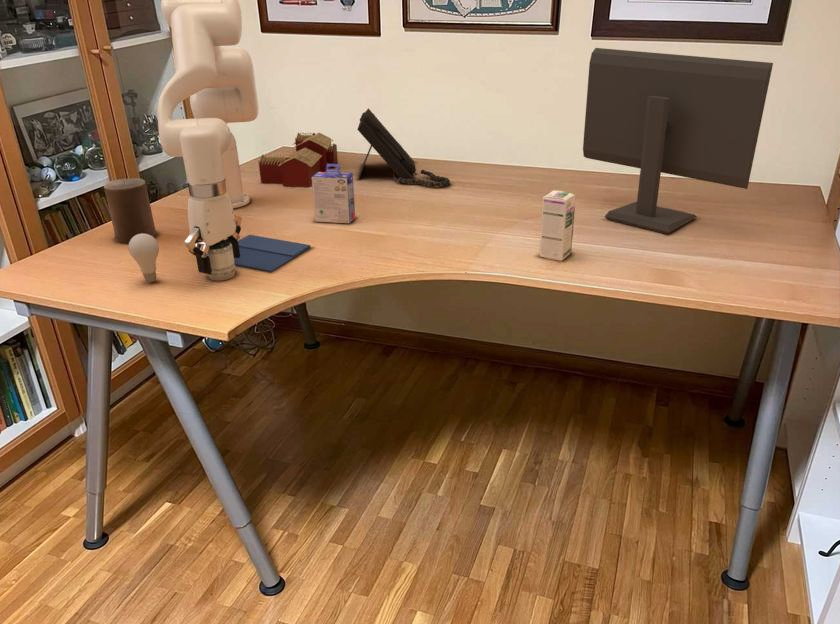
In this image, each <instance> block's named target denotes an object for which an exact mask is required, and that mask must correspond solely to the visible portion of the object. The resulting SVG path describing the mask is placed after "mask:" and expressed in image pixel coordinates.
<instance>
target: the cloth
mask: <svg viewBox="0 0 840 624" xmlns="http://www.w3.org/2000/svg"><path fill="white" fill-rule="evenodd" d="M237 241H238V243H239V250H240V258H234V263H235V267H241V268H245V269H246V268H247V269H252V270H258V271H262V272H268V273H273V272H274V271H276V270H277V269H280V268H282V267H283V266H285V265H286V264H287V263H289V262H290V261H292V260H294V259H295V258H297V257H299V256H300V255H302V254H303V253H305V252H306V251H309V250H310V249H311V244H308V243H307V244H305V243H300V242H295V241H289V240H285V239H284V240H283V239H279V238H272V237H265V236H260V235H254V234H247V235H246V236H244V237H242V238H240V239H239V240H237Z"/></svg>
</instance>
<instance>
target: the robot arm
mask: <svg viewBox="0 0 840 624" xmlns="http://www.w3.org/2000/svg"><path fill="white" fill-rule="evenodd" d="M160 10H161V14H162V16H163V19H164V21H165V23H166V24H167V25H168V26H169V27H170V30H171V39H172V40H171V41H172V49H173V50H172V51H173V58H174V59H173V60H174V71H175V73H174V74H173V76H172V77H171V78H170V79H169V80H168V82H167V83H166V84H165V86H164V87H163V89H162V91H161V93H160V95H159V98H158V101H157V107H156V113H157V115H156V116H157V127H158V138H159V141H160V142H159V143H160V146H161V149H162V151H163V152H164V153H165V154H166V155H168V156H169V157H172V158H182V159H183V165H184V170H185V171H184V172H185V176H186V181H187V182H186V183H187V188H188V193H189V197H188V199H187V223H188V224H187V225H188V231H189V235H188V236H187V238H186V239H185V240H184V246H186V248H187V249H188V252H189V253H190V254H192V256H194V257H195V260H196V265H197V271H198V272H199V273H200V274H205V275H208V274H211V273H212V269H211V264H210V258H209V256H207V253H208V250H209V247H210V246H212V245H214V244H216V243H218V242H220V241H222V240H227V241H229V242H230V243H231V244H232V249H233V256H234V258H240V250H239V243H238V240H240V239H241V237H240V233H241V230H242V227H241V226H242V221H243V217H242V216H240V215H237V214H235V212H234V209H237V208H242V207H244V206H247V205H248V204H250V201H251V200H250V196H249V195H248V194H247V193H244V188H243V182H242V174H241V167H240V160H239V152H238V145H237V140H236V137H235V135H234V134H233V132H231V129H230V127H229V125H228V124H233V123H249V122H253V121H255V120H256V119H257V118H258V116H259V98H258V91H257V85H256V78H255V70H254V65H253V61H252V58H251V54H249V51H248V50H247V49H245V48H243V47H240V46H239V47H237V45H238V44H239V43H240V42H241V40H242V39H241V38H242V34H243V28H242V27H243V26H242V25H243V24H242V23H243V22H242V20H243V18H242V17H243V16H242V10H241V5H240V2H239V0H161V1H160ZM227 46H228V47H227ZM229 46H230V47H229ZM231 46H232V47H231ZM188 98H189V106H190V109H191V112H192V116H193V118H181V119H173V115H174V111H175V109H176V108H177V107H178V105H180V103H182V102H183V101H185V100H186V99H188ZM203 246H204V247H203ZM202 247H203V249H201V248H202Z"/></svg>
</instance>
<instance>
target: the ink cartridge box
mask: <svg viewBox="0 0 840 624" xmlns="http://www.w3.org/2000/svg"><path fill="white" fill-rule="evenodd" d="M333 166H334V167H335V168H336V169H330V168H329V167H333ZM340 171H341V164H340V163H338V164H327V167H326V172H317V173H316V174H315V175H314V176H312V185H311V187H312V198H313V199H312V200H313V209H314V211H313V212H314V222H317V223H318V222H319V223H335V224H336V223H338V224H350V223H352V221H354V220H355V219H356V206H355V205H356V204H355V189H354V187H355V186H354V173H353V172H342V171H341V172H340Z"/></svg>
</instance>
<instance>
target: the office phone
mask: <svg viewBox="0 0 840 624" xmlns="http://www.w3.org/2000/svg"><path fill="white" fill-rule="evenodd" d="M357 131H358V133H360V135H361V136H362V137H363V138H364V139H365V140H366V141H367V143H369V145H370V146H369V148H368V151H367V153H366V156H365V158H364V160H363V163H362V166H361V170H360V173H359V177H358V178H360V177H361V175H362V172H363V169H364V167H365V165H366V162H367V160H368V157H369V155H370V153H371V150H372V148H373V150H375V152H376V153H377V154H378V155H379V156H380V157H381V158H382V160H384V162H385V163H386V164H387V165H388V166H389V167H390V168H391V170H392V171H393V173H392V174H393V180H395V181H396V182H399V183H401V185H402V184H403V185H404V184H406V185H408V184H409V185H412V184H413V185H415V184H417V185H425V186H426V187H427V186H429V187H432V188H435V187H436V188H440V187H447V186H449V185H450V182H451V180H450V179H449V178H448V177H445V176H440V175H436V174H434V173H433V172H431V171H429V170H428V171H427V170H425V169H421V170H420V173H417V169H416V164H415V160H414V159H413V158H412V156H411V155H410V154H408V152H407V151H406V150H405V149H404V148H403V146H402V145H401V144H400V142H398V141H397V139H396V138H395V137H394V136H393V135H392V134H391V133H390V131H389V130H388V129H387V127H386V126H384V125H383V124H382V122H381V121H380V120H379V119H378V116H377V117H376V115H375V114H374V113H373V111H372V110H371V109H370V107H369V108H367V109H366V111H364V112H362V114H361V116H360V118H359V123H358V127H357ZM395 174H396V175H397V176H398V178H397V177H396V176H395ZM414 175H422V176H427V177H429V178H430V179H431V180H433V181H431V180H425V179H420V178H418V179H417V178H414Z"/></svg>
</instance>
